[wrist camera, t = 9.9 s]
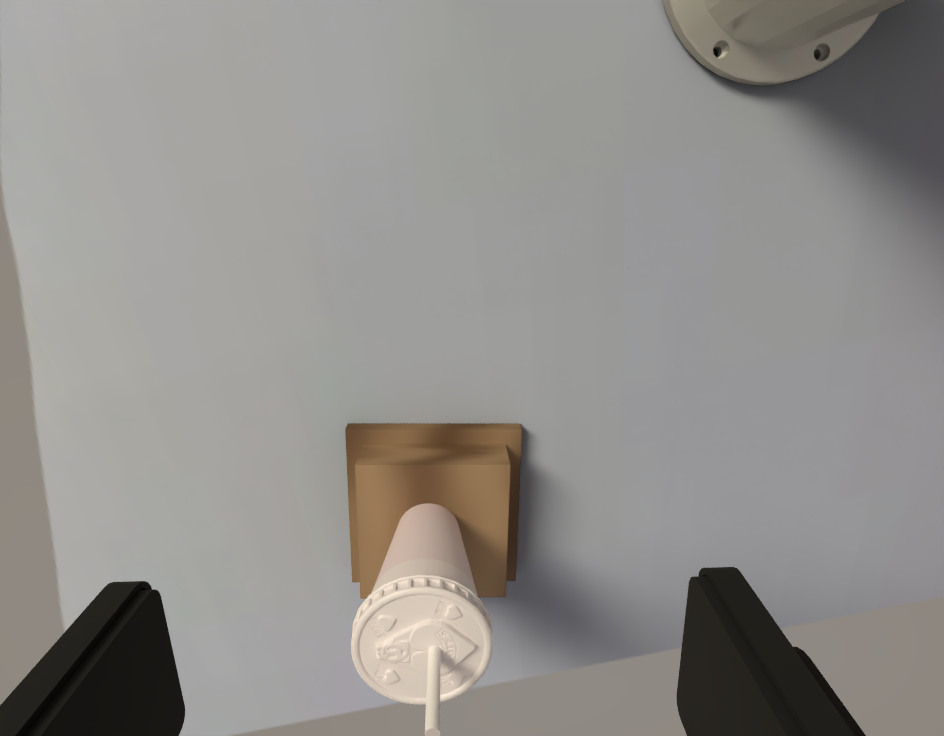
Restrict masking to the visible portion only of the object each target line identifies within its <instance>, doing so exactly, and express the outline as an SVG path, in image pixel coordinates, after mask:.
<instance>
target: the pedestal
mask: <svg viewBox="0 0 944 736" xmlns="http://www.w3.org/2000/svg"><path fill="white" fill-rule="evenodd" d="M345 430H346V452H347V475H348V497H349V519H350V541H351V564H352V582H360V598H367V597H368V596H369V595H370V594H371V593H372V590H373V588H374V586H375V583H376V580H377V578H378V575H379V573H380V570H381V568H382V565H383V562H384V560H385V557H386V555H387V552H388V549H389V547H390V544H391V542H392V539H393V537H394V534H395V531H396V529H397V526H398V524H399V521H400V519H401V517H402V516H403V515H404V513H405V512H407V511H408V510H409V509H410V508H412V507H414V506H417V505H420V504H426V503H431V504H437V505H440V506H443V507H445V508H446V509H448V510H449V511H450V512H451V513H452V514H453V515H454V516H455V518H456V520H457V522H458V525H459V529H460V532H461V536H462V540H463V544H464V547H465V551H466V555H467V558H468V562H469V566H470V569H471V573H472V577H473V581H474V584H475V588H476V591H477V594H478V597H505V596H506V581H515V580H516V556H517V533H518V510H519V486H520V463H521V440H522V428H521V425H520V424H348V425H347V427H346V429H345Z"/></svg>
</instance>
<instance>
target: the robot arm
mask: <svg viewBox="0 0 944 736" xmlns="http://www.w3.org/2000/svg"><path fill="white" fill-rule="evenodd" d="M905 1H907V0H663V3H664V8H665V10H666V13H667V15H668V18H669V20H670V23H671V25H672V28H673V30H674V31H675V33H676V35H677V36H678V38H679V39H680V41H681V42H682V44H683V45H684V47H685V48H686V49H687V50H688V51H689V53H690V54H691V55H692V56H693V57H694V58H695V59H696V60H697V61H698V62H699V63H700V64H702V65H703V66H705V67H706V68H708V69H709V70H711V71H712V72H714V73H716V74H717V75H719V76H721V77H724V78H727V79H729V80H732V81H735V82H737V83H744V84H751V85H758V86H760V85H773V84H782V83H785V82H789V81H792V80H796V79H799V78H802V77H805V76H807V75H810V74H812V73H814V72H817V71H819V70H821V69H823V68H825V67H826V66H828V65H829V64H831V63H833V62H834V61H836V60H837V59H839V58H841V57H842V56H843V55H844V54H845V53H846V52H847V51H849V50H850V49H851V48H852V47H853V46H854V45H855V44H856V43H858V42H859V41H860V40H861V38H862V37H863V36H864V35H865V33H866V32H867V31H868V30H869V28H870V27H871V26H872V25H873V24H874V22H875V21H876V19H877V18H878V16H879V14H880V13H881V12H882V11H884V10H886V9H889V8H891V7H893V6H895V5H898V4H900V3H902V2H905ZM713 48H714V49H716V50H717V51H718V56H717V57H715V55H714V54H713ZM814 53H815V54H816V58H815V57H814ZM677 706H678V711H679V715H680V718H681V721H682V723H683V726H684V728H685V731H686V734H687V736H866V735H865V734H864V733H863V731H862V730H861V729H860V727H859V726H858V724H857V723H856V721H855V720H854V719H853V717H852V716H851V715H850V713H849V712H848V710H847V709H846V708H845V706H844V705H843V703H842V702H841V701H840V699H839V698H838V697H837V695H836V694H835V692H834V691H833V689H832V688H831V687H830V685H829V684H828V683H827V681H826V680H825V678H824V677H823V676H822V674H821V673H820V672H819V670H818V669H817V667H816V666H815V664H814V663H813V662H812V660H811V659H810V658H809V657H808V656H807V654H806V653H805V652H804V651H803V650H801V649H799V648H798V647H792V645H791V644H790V642H789V641H788V639H787V638H786V637H785V635H784V634H783V633H782V631H781V629H780V628H779V627H778V625H777V624H776V622H775V621H774V619H773V618H772V617H771V615H770V614H769V612H768V611H767V609H766V608H765V607H764V605H763V604H762V602H761V601H760V599H759V598H758V597H757V595H756V594H755V592H754V591H753V589H752V588H751V587H750V585H749V584H748V582H747V581H746V579H745V578H744V577H743V575H742V574H741V572H740V571H739V570H738V569H737V568H734V567H721V568H702V569H701V570H700V572H699V576H698V577H691V579H690V581H689V588H688V597H687V606H686V615H685V624H684V633H683V642H682V651H681V661H680V670H679V679H678V688H677ZM184 717H185V705H184V701H183V696H182V692H181V687H180V682H179V678H178V673H177V669H176V664H175V659H174V655H173V650H172V646H171V641H170V636H169V632H168V627H167V623H166V618H165V613H164V609H163V604H162V600H161V596H160V593H159V592H158V591H157V590H152V588H151V586H150V585H149V583H148V582H145V581H136V582H112V583H109V584H108V585H107V586H106V587H104V589H103V590H102V591H101V592H100V593H99V594H98V595H97V596H96V598H95V599H94V600H93V601H92V602H91V603H90V604H89V606H88V607H87V608H86V609H85V610H84V611H83V612H82V613H81V615H80V616H79V617H78V618H77V619H76V620H75V621H74V623H73V624H72V625H71V626H70V627H69V628H68V629H67V630H66V632H65V633H64V634H63V635H62V636H61V637H60V638H59V640H58V641H57V642H56V643H55V644H54V645H53V646H52V647H51V649H50V650H49V651H48V652H47V653H46V654H45V655H44V657H43V658H42V659H41V660H40V661H39V662H38V663H37V665H36V666H35V667H34V668H33V669H32V670H31V671H30V672H29V674H28V675H27V676H26V677H25V678H24V679H23V680H22V682H21V683H20V684H19V685H18V686H17V687H16V688H15V690H14V691H13V692H12V693H11V694H10V695H9V696H8V698H7V699H6V700H5V701H4V702H3V703H2V704H1V705H0V736H179V734H180V731H181V729H182V726H183V723H184Z"/></svg>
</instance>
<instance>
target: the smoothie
mask: <svg viewBox="0 0 944 736" xmlns="http://www.w3.org/2000/svg"><path fill="white" fill-rule="evenodd" d="M351 653H352V658H353V662H354V665H355V667H356V669H357V671H358V673H359V674H360V676H361V677H362V679H363V680H364V681H365V682H366V683H367V684H368V685H369V686H370V687H371V688H373V689H374V690H375V691H377V692H378V693H380V694H381V695H383V696H385V697H387V698H390V699H392V700H395V701H398V702H403V703H408V704H426V720H425V736H439V735H440V702H443V701H446V700H449V699H452V698H454V697H456V696H458V695H460V694H462V693H464V692H465V691H467V690H468V689H470V688H471V687H472V686H473V685H474V684H475V683H476V682H477V681H478V680H479V679H480V678H481V677H482V675H483V674H484V672H485V670H486V669H487V667H488V664H489V662H490V659H491V655H492V625H491V620H490V615H489V613H488V612H487V610H486V608H485V606H484V604H483V602H482V601H481V600H480V599H479V598H478V594H477V591H476V588H475V584H474V581H473V577H472V573H471V569H470V566H469V562H468V558H467V555H466V551H465V547H464V544H463V540H462V536H461V532H460V529H459V525H458V522H457V520H456V518H455V516H454V515H453V514H452V513H451V512H450V511H449V510H448V509H446V508H445V507H443V506H440V505H437V504H431V503H426V504H420V505H417V506H414V507H412V508H410V509H409V510H408V511H407V512H405V513H404V515H403V516H402V517H401V519H400V521H399V524H398V526H397V529H396V531H395V534H394V537H393V539H392V542H391V544H390V547H389V549H388V552H387V555H386V557H385V560H384V562H383V565H382V568H381V570H380V573H379V575H378V578H377V580H376V583H375V586H374V588H373V590H372V593H371V594H370V595H369V596H368V597H367V598H366V600H365V601H364V602H363V603H362V605H361V606H360V607H359V609H358V612H357V614H356V617H355V619H354V622H353V633H352V640H351Z"/></svg>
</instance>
